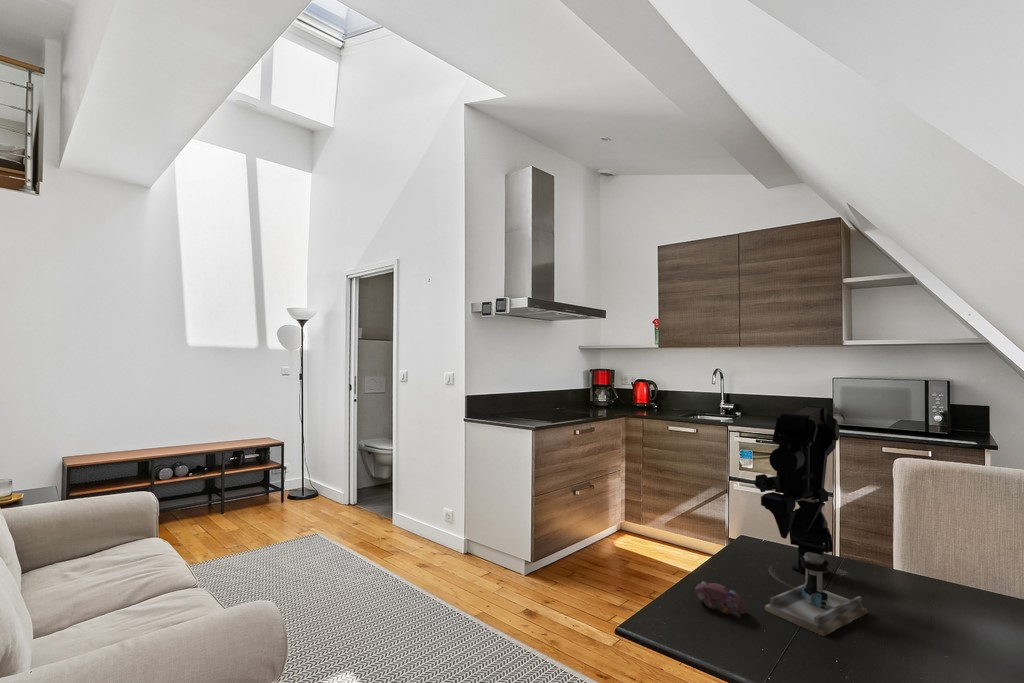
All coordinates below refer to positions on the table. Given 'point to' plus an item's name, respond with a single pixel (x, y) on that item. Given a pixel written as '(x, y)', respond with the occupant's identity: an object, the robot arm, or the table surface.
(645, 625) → the table surface
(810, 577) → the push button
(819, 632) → the rail board
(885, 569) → the table surface
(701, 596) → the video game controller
